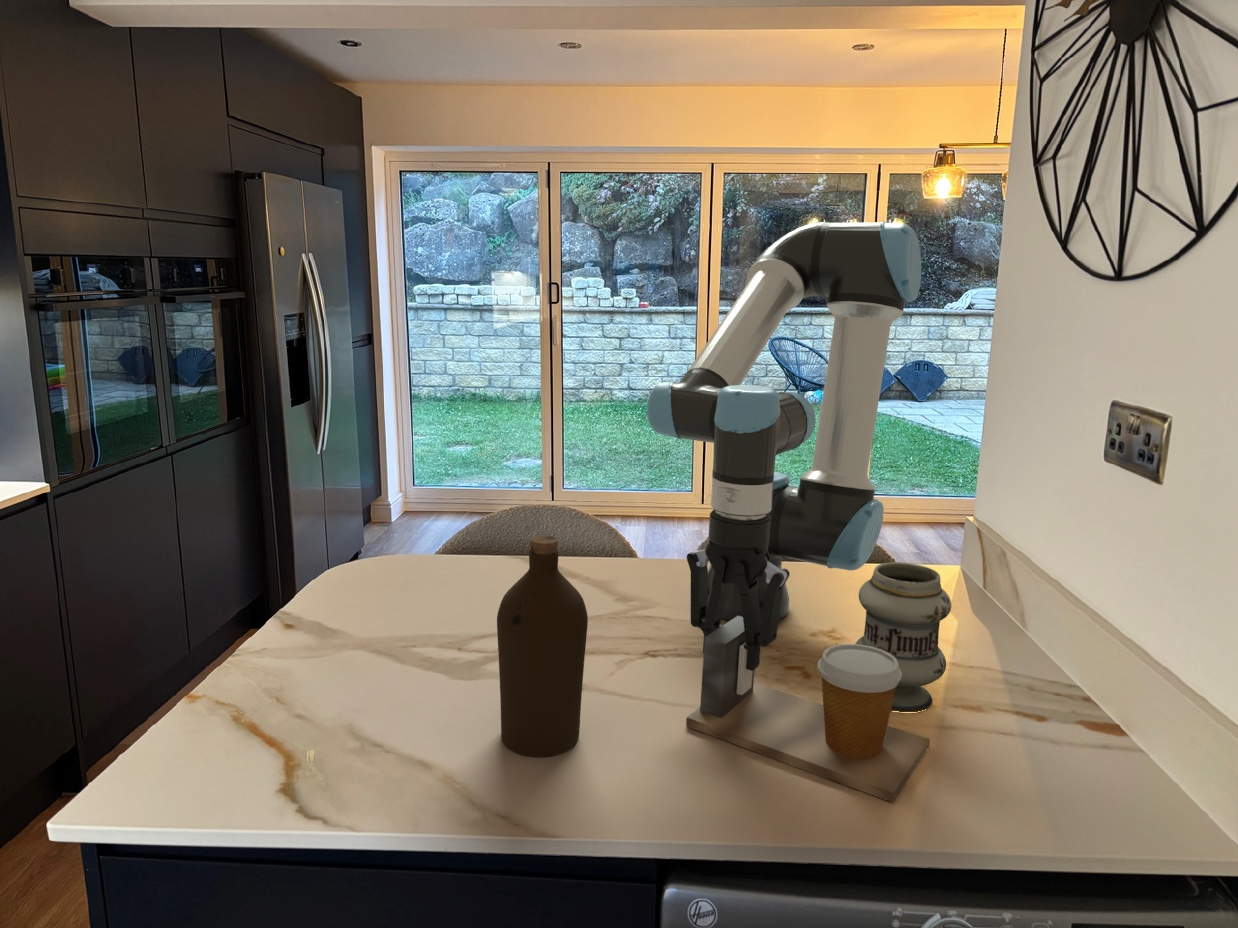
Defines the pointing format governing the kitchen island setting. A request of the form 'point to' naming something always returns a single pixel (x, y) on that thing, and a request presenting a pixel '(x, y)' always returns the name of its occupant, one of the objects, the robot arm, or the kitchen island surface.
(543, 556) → the olive oil
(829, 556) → the robot arm
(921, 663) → the apothecary jar
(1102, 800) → the kitchen island surface
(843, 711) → the disposable coffee cup
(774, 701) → the walnut board
